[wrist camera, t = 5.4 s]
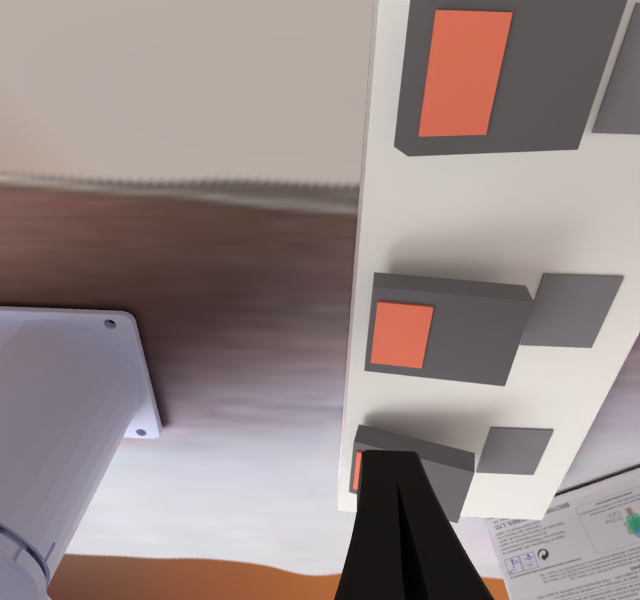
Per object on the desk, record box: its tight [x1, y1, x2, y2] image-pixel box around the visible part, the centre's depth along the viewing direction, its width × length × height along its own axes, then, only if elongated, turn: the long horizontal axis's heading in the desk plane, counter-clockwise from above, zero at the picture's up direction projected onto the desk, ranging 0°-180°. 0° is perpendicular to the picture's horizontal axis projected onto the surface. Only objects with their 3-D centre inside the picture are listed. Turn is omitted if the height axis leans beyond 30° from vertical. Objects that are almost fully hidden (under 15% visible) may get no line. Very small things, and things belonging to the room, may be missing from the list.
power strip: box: [338, 0, 640, 520], centre depth 16 cm, size 11×32×2 cm, turn 178°
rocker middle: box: [364, 272, 534, 386], centre depth 15 cm, size 5×4×1 cm
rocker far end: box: [349, 424, 475, 523], centre depth 20 cm, size 5×4×1 cm
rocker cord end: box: [394, 0, 628, 157], centre depth 11 cm, size 5×4×1 cm
